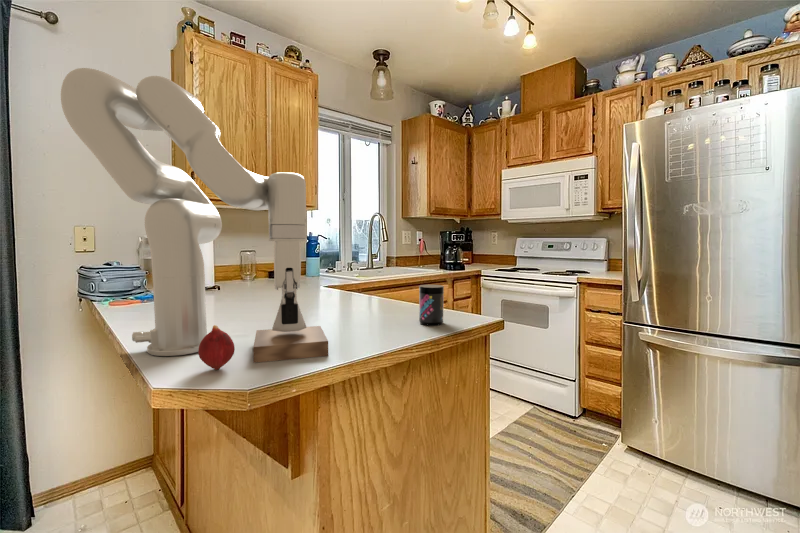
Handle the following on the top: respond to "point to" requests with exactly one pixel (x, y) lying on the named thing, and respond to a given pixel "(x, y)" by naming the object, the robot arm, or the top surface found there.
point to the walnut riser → (289, 344)
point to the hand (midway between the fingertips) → (289, 320)
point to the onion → (216, 348)
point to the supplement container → (431, 304)
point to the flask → (288, 327)
